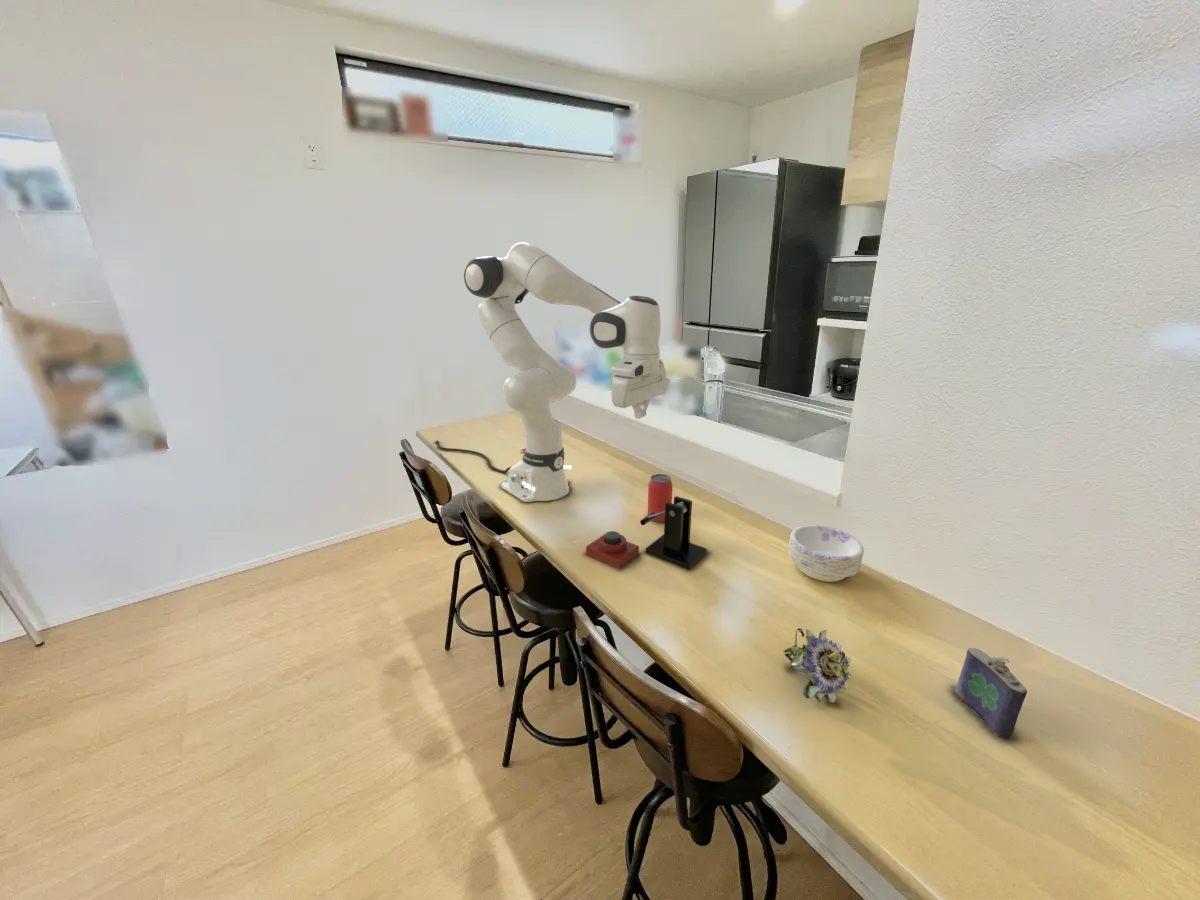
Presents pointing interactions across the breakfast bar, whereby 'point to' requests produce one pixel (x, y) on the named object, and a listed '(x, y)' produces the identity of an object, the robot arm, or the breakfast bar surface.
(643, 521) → the lever
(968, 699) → the flask
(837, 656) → the passion flower
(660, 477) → the beer can
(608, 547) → the button box
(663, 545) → the bracket
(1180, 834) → the breakfast bar surface
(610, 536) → the button
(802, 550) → the paper bowls
